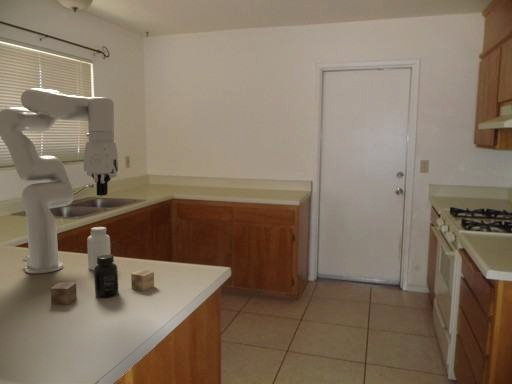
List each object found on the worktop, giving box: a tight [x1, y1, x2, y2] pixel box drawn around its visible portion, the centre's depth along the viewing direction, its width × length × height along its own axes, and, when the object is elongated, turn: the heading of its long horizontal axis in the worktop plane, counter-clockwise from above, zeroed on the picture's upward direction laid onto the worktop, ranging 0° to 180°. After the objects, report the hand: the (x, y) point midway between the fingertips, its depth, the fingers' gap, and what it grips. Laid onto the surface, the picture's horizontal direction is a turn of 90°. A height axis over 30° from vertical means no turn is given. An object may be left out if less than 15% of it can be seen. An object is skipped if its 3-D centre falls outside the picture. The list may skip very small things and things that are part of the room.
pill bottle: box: [86, 226, 112, 271], centre depth 154 cm, size 8×8×15 cm
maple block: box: [130, 269, 155, 292], centre depth 135 cm, size 5×5×5 cm
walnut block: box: [50, 282, 77, 306], centre depth 122 cm, size 5×5×5 cm
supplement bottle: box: [93, 254, 119, 299], centre depth 128 cm, size 7×7×12 cm
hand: (102, 194), depth 134 cm, fingers closed
